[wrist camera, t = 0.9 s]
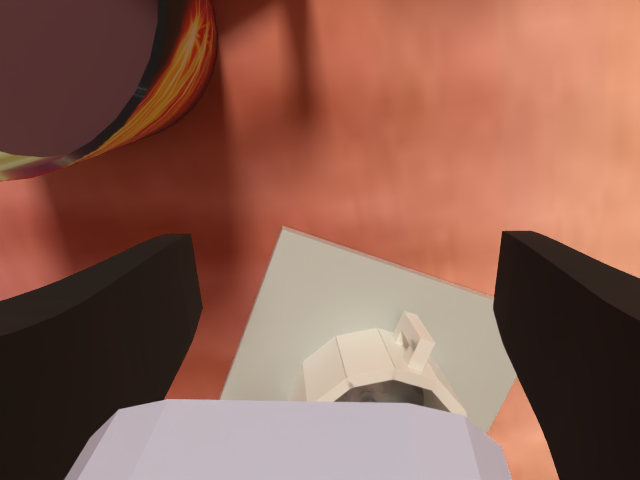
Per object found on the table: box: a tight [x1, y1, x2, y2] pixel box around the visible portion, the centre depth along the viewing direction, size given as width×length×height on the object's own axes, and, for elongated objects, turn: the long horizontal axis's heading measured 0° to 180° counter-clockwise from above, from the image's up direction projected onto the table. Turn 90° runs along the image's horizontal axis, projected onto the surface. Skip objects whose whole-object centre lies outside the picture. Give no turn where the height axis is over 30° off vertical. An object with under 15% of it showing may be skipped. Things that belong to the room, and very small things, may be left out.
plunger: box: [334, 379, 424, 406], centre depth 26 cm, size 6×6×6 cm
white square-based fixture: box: [218, 226, 517, 434], centre depth 27 cm, size 16×16×5 cm
